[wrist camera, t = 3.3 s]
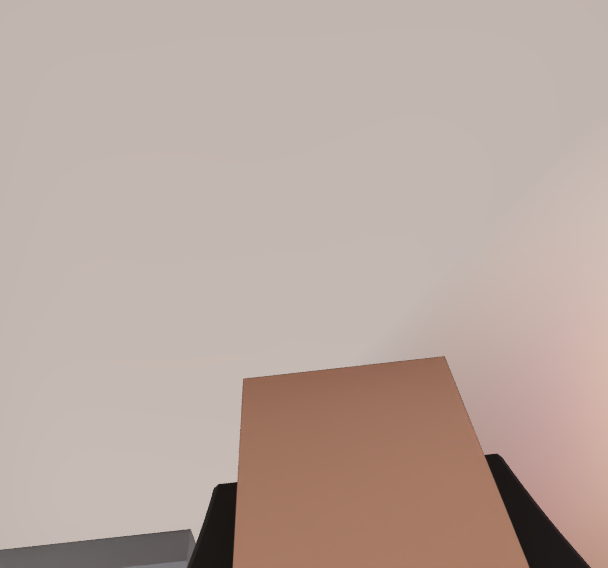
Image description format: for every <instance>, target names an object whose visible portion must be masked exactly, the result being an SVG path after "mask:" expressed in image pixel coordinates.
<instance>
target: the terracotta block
mask: <svg viewBox="0 0 608 568" xmlns="http://www.w3.org/2000/svg"><path fill="white" fill-rule="evenodd" d="M233 568H529V565H528V563H527V560H526V558H525V555H524V553H523V551H522V548H521V546H520V543H519V541H518V538H517V536H516V533H515V531H514V528H513V526H512V523H511V521H510V518H509V516H508V513H507V511H506V508H505V506H504V503H503V501H502V498H501V496H500V493H499V491H498V488H497V486H496V483H495V481H494V478H493V476H492V473H491V471H490V468H489V466H488V463H487V461H486V458H485V456H484V453H483V451H482V448H481V446H480V443H479V441H478V438H477V436H476V433H475V431H474V428H473V426H472V424H471V421H470V419H469V416H468V413H467V411H466V409H465V406H464V404H463V401H462V399H461V396H460V393H459V391H458V388H457V386H456V383H455V381H454V379H453V376H452V374H451V371H450V369H449V366H448V364H447V361H446V359H445V357H434V358H425V359H416V360H408V361H398V362H389V363H380V364H372V365H363V366H354V367H345V368H336V369H327V370H318V371H309V372H300V373H291V374H282V375H273V376H265V377H256V378H247V379H243V393H242V413H241V429H240V448H239V465H238V483H237V501H236V519H235V538H234V556H233Z"/></svg>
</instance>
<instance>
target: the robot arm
mask: <svg viewBox="0 0 608 568" xmlns="http://www.w3.org/2000/svg"><path fill="white" fill-rule="evenodd" d="M484 456H485V458H486V461H487V463H488V466H489V468H490V471H491V473H492V476H493V478H494V481H495V483H496V486H497V488H498V491H499V493H500V496H501V498H502V501H503V503H504V506H505V508H506V511H507V513H508V516H509V518H510V521H511V523H512V526H513V528H514V531H515V533H516V536H517V538H518V541H519V543H520V546H521V548H522V551H523V553H524V555H525V558H526V560H527V563H528V565H529V568H590V566H589V565H588V564H587V563H586V562H585V561H584V559H583V558H582V557H581V556H580V555H579V554H578V553H577V551H576V550H575V549H574V548H573V547H572V546H571V544H570V543H569V542H568V541H567V540H566V539H565V538H564V536H563V535H562V534H561V533H560V532H559V530H558V529H557V528H556V527H555V526H554V524H553V523H552V522H551V521H550V520H549V518H548V517H547V516H546V515H545V513H544V512H543V511H542V510H541V508H540V507H539V506H538V505H537V503H536V502H535V501H534V500H533V498H532V497H531V496H530V495H529V493H528V492H527V490H526V489H525V488H524V487H523V485H522V484H521V483H520V481H519V480H518V479H517V477H516V476H515V475H514V473H513V472H512V471H511V469H510V468H509V466H508V465H507V464H506V462H505V461H504V459H503V458H502V457H501V456H500V455H498V454H489V455H484ZM237 483H238V482H235V483H226V484H218V485H217V486H216V487H215V488H214V490H213V493H212V497H211V501H210V504H209V507H208V510H207V513H206V517H205V520H204V523H203V526H202V529H201V531H200V534H199V537H198V540H197V543H196V545H195V548H194V550H193V553H192V556H191V558H190V561H189V563H188V566H187V568H233V556H234V538H235V519H236V501H237Z"/></svg>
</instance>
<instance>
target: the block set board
mask: <svg viewBox="0 0 608 568" xmlns="http://www.w3.org/2000/svg"><path fill="white" fill-rule="evenodd" d="M195 545H196V543H195V540H194V537H193V535H192V532H191V529H188V530H179V531H170V532H160V533H152V534H142V535H133V536H124V537H114V538H105V539H96V540H87V541H78V542H70V543H60V544H50V545H41V546H32V547H23V548H14V549H4V550H0V568H187V566H188V563H189V561H190V558H191V556H192V553H193V550H194V548H195Z"/></svg>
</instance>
